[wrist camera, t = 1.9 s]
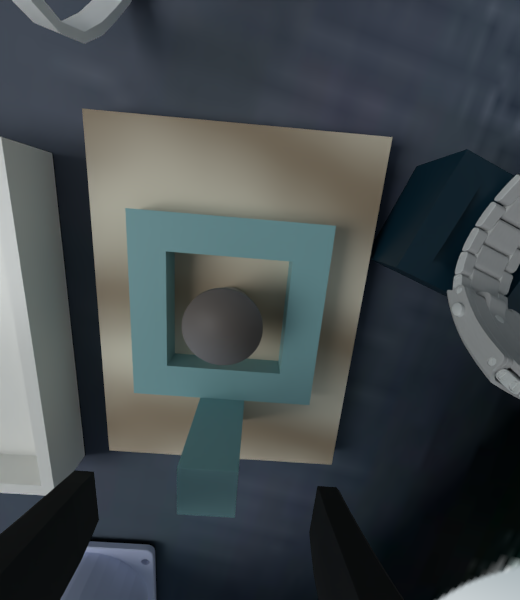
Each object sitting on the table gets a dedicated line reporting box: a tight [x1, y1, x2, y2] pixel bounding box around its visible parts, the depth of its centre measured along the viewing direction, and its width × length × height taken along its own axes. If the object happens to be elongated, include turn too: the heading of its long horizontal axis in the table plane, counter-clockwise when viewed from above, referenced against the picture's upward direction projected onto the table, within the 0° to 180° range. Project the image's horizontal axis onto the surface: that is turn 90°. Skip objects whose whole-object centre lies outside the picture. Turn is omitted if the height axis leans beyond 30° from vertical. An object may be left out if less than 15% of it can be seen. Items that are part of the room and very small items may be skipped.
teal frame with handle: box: [125, 208, 336, 518], centre depth 11 cm, size 10×8×5 cm
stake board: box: [82, 109, 392, 464], centre depth 12 cm, size 16×12×4 cm
